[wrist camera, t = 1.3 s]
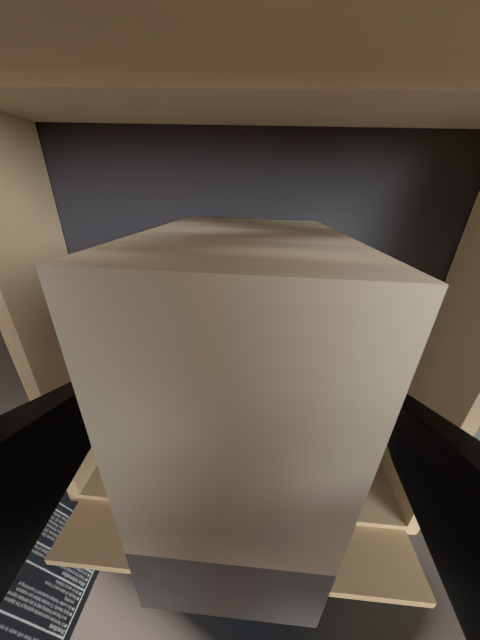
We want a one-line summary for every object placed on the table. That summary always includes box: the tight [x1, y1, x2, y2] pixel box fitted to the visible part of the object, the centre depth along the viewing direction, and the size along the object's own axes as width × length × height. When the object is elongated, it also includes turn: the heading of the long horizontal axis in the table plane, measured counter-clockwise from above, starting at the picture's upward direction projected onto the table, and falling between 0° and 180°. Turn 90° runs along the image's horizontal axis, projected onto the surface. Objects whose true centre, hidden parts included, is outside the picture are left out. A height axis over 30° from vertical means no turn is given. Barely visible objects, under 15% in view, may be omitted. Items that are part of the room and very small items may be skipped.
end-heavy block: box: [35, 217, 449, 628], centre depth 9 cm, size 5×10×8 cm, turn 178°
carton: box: [0, 0, 480, 608], centre depth 10 cm, size 17×17×6 cm
